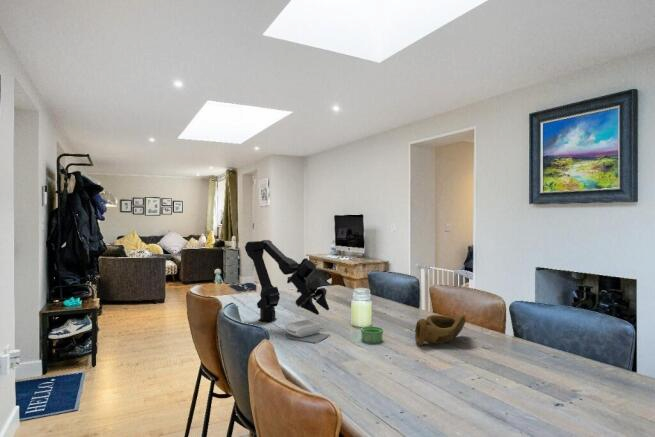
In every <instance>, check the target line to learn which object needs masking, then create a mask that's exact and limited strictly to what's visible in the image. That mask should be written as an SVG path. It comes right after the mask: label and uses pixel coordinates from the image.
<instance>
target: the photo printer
mask: <svg viewBox="0 0 655 437" xmlns="http://www.w3.org/2000/svg"><path fill="white" fill-rule="evenodd" d="M284 328H285V329H284V330H285V331H286V333H287V334H288V335H290V336H291V335H293V336H296V337H304V336H308V335H312V334H316V333H320V332H321V331H322V327H321V324H320V323H318V322H316V321H313V320H312V319H311V320H310V319H304V320H303V319H302V320H299V321H293V322H289V323H287V324H285V327H284Z"/></svg>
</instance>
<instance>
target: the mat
mask: <svg viewBox="0 0 655 437" xmlns="http://www.w3.org/2000/svg"><path fill="white" fill-rule="evenodd" d="M330 335H331V334H329V333H323V332H321V333H320V332H319V333H316V334H312V335H308V336H304V337H296V336H293V335H291V334H290V335H289V336H287V337H285V339H286V338H288V339H287V340H292V339H293V341H297V340H299V341H298V342H303V341H305V342H304V343H309V342H310V344H315V343H317V344H318V342H319V343H320V342H322V341H324V340H326V339H327V337H328V336H329V337H331V336H330ZM329 337H328V338H329ZM325 338H326V339H325ZM323 339H324V340H323Z"/></svg>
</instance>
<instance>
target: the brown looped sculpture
mask: <svg viewBox="0 0 655 437" xmlns="http://www.w3.org/2000/svg"><path fill="white" fill-rule="evenodd" d="M465 324H466V316H465V314H462V315H460V316H458V317H453V316H447V315H439V314H433V315H428V316H427V317H426V318H421V319H418V321H416V324H415V329H414V330H415V331H414V332H415V335H414V338H415V339H414V340H415V343H416V344H417V345H418V346H419V347H421V346H423V344H424V343H431V344H441V343H449V342H450V341H451V340H452V339H455V338H457V337H458V336H459V334H460V333H461V332H462V330H463V328H464V326H465Z"/></svg>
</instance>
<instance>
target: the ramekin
mask: <svg viewBox="0 0 655 437" xmlns="http://www.w3.org/2000/svg"><path fill="white" fill-rule="evenodd" d="M360 332H361V339H362V341H363V342H365V343H370V344H371V343H372V344H374V343H375V344H376V343H380V342H382V341H383V333H384V328H383V327H381V326H376V325H375V326H374V325H367V326H362V327H361V328H360Z"/></svg>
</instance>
